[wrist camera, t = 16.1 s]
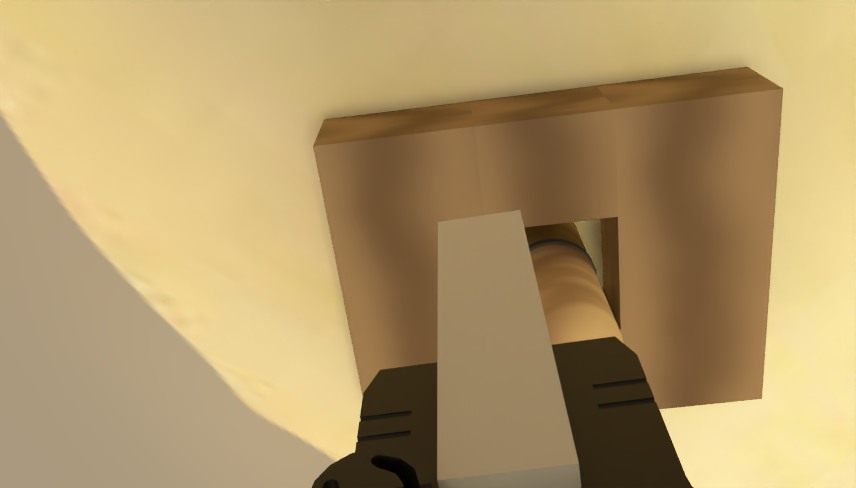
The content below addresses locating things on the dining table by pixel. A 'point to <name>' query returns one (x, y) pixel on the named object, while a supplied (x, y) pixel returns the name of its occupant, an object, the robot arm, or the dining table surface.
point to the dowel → (569, 285)
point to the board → (574, 215)
